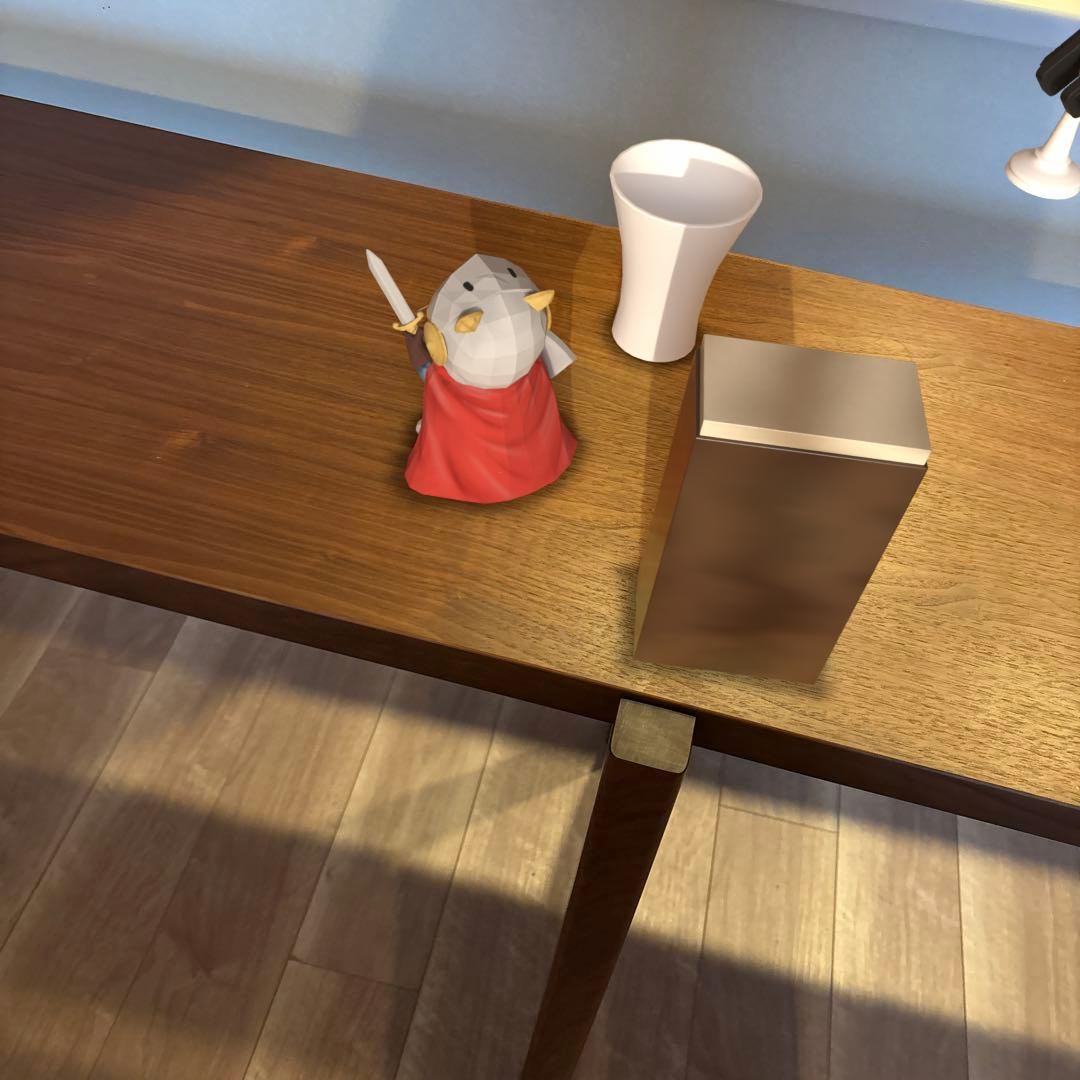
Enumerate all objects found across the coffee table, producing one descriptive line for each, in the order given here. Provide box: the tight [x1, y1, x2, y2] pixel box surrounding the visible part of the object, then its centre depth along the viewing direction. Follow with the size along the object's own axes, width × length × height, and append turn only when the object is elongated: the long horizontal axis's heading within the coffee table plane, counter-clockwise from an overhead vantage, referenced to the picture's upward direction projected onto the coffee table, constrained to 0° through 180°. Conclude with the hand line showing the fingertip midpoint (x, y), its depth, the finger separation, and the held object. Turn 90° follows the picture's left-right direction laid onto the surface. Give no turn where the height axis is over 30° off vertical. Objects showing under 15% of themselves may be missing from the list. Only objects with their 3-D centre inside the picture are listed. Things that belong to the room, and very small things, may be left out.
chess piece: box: [1004, 73, 1080, 200], centre depth 69 cm, size 5×5×10 cm
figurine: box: [365, 248, 579, 505], centre depth 71 cm, size 13×11×15 cm
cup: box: [609, 138, 764, 363], centre depth 80 cm, size 10×10×14 cm
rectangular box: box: [632, 333, 932, 685], centre depth 60 cm, size 11×6×20 cm, turn 84°
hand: (1055, 95), depth 68 cm, fingers closed on chess piece
